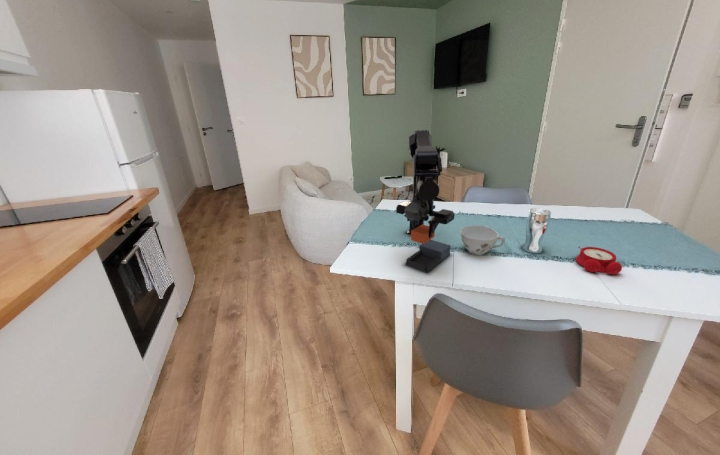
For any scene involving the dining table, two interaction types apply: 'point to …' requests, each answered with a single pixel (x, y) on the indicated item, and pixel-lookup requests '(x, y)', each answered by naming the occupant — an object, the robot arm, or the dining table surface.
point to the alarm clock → (598, 260)
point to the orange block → (421, 234)
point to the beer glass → (536, 229)
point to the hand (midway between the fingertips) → (423, 235)
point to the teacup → (480, 239)
